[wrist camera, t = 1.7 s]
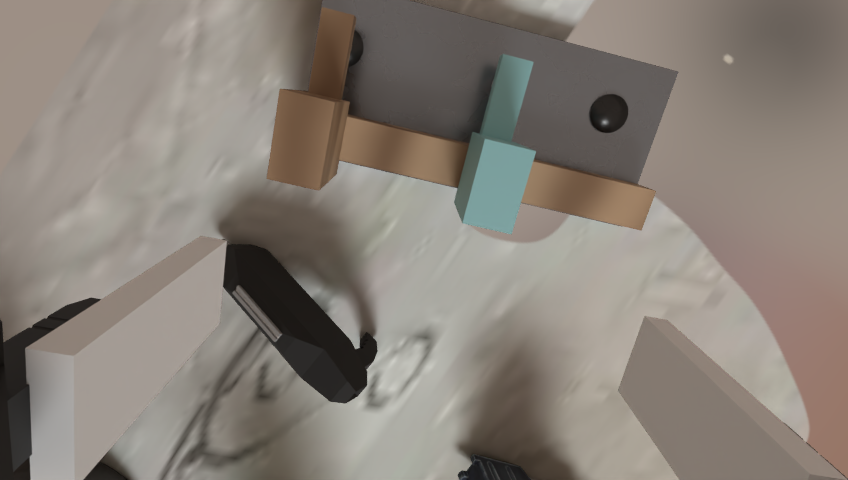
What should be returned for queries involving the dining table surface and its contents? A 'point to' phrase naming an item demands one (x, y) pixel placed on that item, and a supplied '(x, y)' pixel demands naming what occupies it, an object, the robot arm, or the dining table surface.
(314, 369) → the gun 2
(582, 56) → the bolt plate
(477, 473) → the gun
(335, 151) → the wooden clamp
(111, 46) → the dining table surface
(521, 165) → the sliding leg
